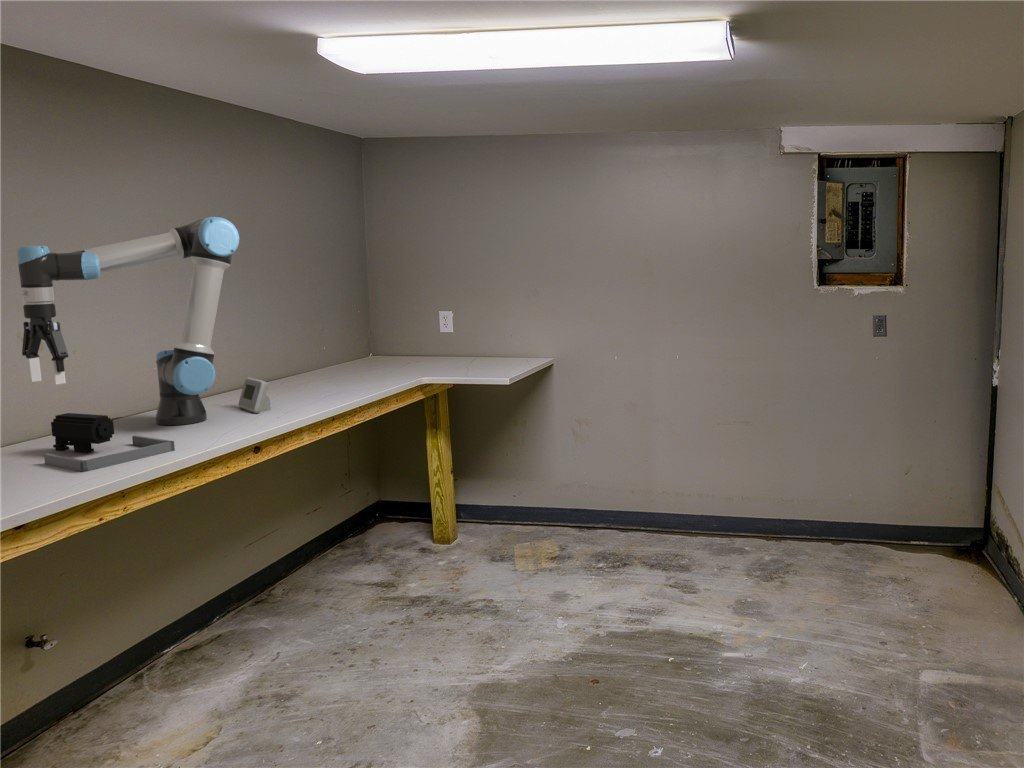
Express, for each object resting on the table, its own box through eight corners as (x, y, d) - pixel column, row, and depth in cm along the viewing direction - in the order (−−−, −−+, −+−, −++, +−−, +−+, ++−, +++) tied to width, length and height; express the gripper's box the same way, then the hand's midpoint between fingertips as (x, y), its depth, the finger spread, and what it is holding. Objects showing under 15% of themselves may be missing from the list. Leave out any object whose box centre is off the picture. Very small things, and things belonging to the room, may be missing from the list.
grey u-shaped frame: (136, 443, 226) (135, 435, 225) (174, 450, 217) (174, 441, 216) (45, 463, 205) (43, 454, 204) (83, 471, 196) (82, 461, 195)
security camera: (68, 446, 224) (64, 411, 223) (118, 450, 218) (114, 414, 216) (46, 452, 218) (42, 416, 217) (96, 456, 211) (92, 419, 210)
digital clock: (237, 408, 280) (235, 377, 279) (264, 405, 284) (262, 375, 283) (245, 415, 266) (243, 383, 264) (273, 412, 270) (271, 381, 268)
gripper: (1, 303, 222) (11, 381, 225) (49, 304, 210) (58, 387, 213) (29, 302, 228) (38, 378, 232) (77, 302, 216) (85, 383, 219)
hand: (48, 382), depth 222 cm, fingers open, 11 cm apart
